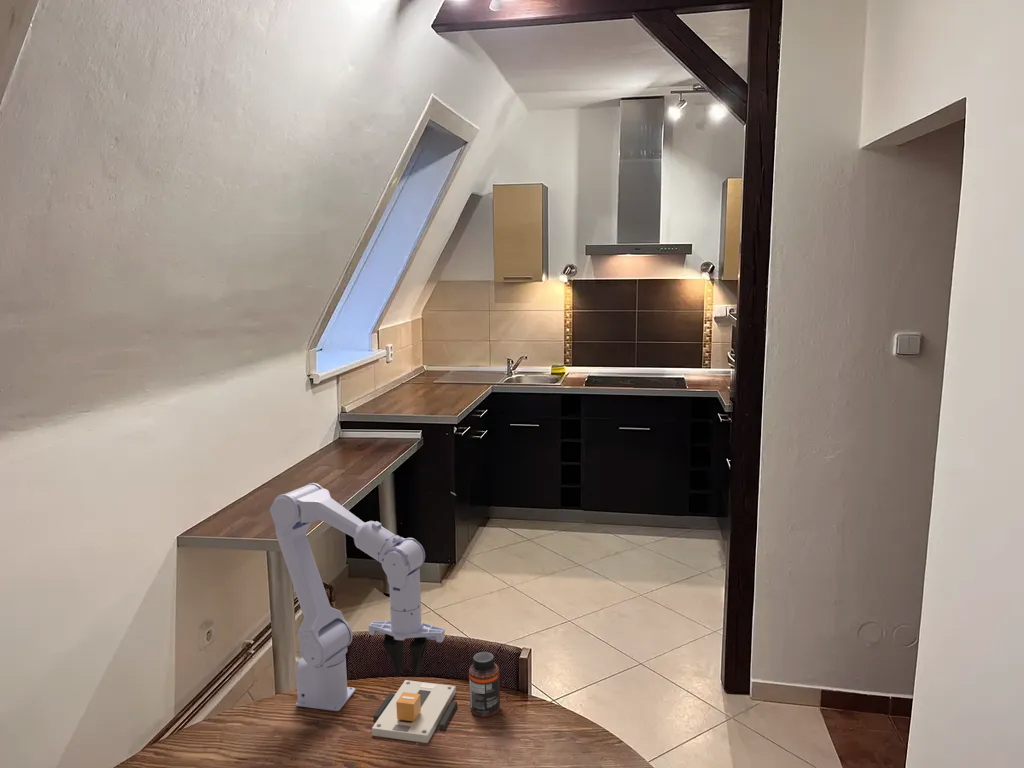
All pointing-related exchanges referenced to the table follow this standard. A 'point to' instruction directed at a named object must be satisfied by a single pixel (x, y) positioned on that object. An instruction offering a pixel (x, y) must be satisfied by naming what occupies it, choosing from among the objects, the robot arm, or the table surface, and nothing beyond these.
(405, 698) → the orange cube
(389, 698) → the twin dark grey rails
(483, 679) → the supplement bottle
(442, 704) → the panel
